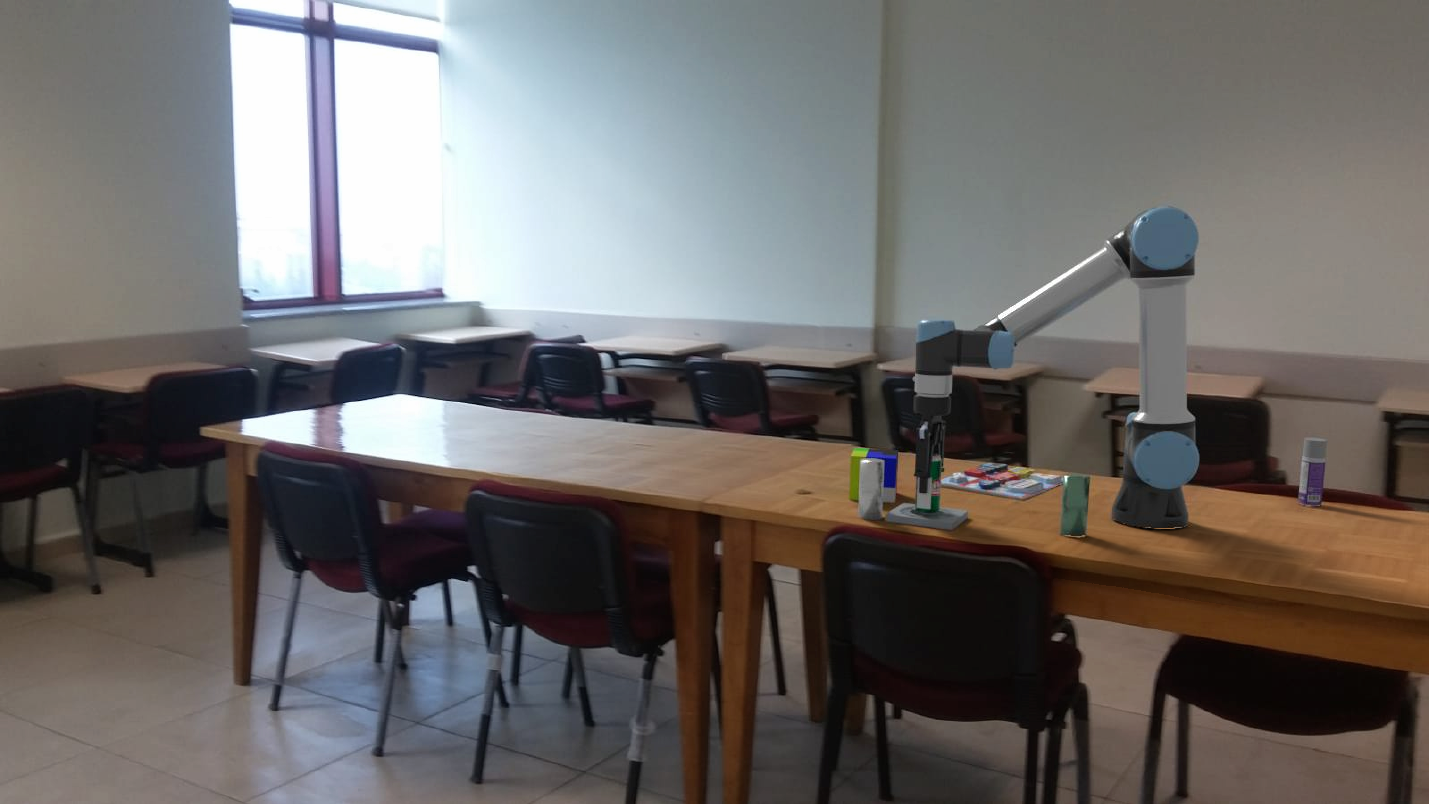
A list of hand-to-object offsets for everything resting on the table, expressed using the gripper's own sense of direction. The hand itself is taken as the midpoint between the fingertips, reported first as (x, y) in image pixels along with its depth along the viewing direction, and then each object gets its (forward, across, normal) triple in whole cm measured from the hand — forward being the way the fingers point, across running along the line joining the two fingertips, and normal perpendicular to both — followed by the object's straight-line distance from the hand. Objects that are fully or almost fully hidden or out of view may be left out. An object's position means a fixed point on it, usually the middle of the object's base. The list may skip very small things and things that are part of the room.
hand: (927, 505), depth 237 cm
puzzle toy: (+3, -15, -17) cm, 23 cm away
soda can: (+1, 0, 0) cm, 1 cm away
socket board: (+3, 0, 0) cm, 3 cm away
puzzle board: (+4, -46, +5) cm, 46 cm away
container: (+3, -59, +71) cm, 92 cm away
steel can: (+3, +4, -11) cm, 12 cm away
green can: (+3, -3, +29) cm, 29 cm away
